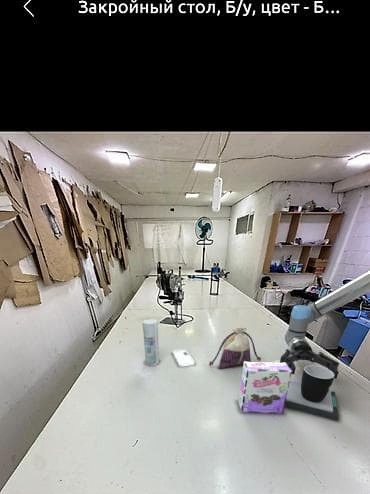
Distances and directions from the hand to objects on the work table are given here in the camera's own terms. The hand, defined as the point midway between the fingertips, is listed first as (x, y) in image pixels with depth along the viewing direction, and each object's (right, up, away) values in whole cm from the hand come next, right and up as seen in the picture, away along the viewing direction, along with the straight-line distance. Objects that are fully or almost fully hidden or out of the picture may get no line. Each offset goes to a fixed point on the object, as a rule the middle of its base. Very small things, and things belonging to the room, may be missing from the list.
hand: (314, 373), depth 81 cm
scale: (-1, -10, +3) cm, 11 cm away
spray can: (-60, +2, +29) cm, 67 cm away
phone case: (-46, +3, +33) cm, 56 cm away
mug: (0, -8, +2) cm, 8 cm away
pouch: (-22, +1, +27) cm, 35 cm away
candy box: (-19, -12, -1) cm, 23 cm away
